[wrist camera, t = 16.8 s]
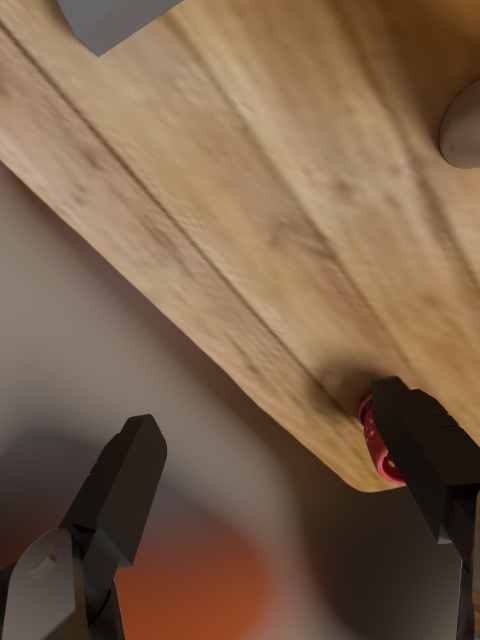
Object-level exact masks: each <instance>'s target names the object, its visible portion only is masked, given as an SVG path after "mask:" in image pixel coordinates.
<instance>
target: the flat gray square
mask: <svg viewBox="0 0 480 640" xmlns="http://www.w3.org/2000/svg"><path fill="white" fill-rule="evenodd" d="M182 1H183V0H57V2H58V4H59V6H60V8H61V10H62V12H63V14H64V16H65V18H66V20H67V21H68V23H69V25H70V27H71V29H72V31H73V33H74V35H75V36H76V37H77V38H78V39H79V40H80V41H81V42H82V43H83V44H84V45H86V46H87V47H88V48H89V49H90V50H91V51H92V52H93V53H94V54H96V55H97V56H98V57H99V56H101V55H102V54H104V53H105V52H107V51H108V50H110V49H111V48H113V47H114V46H116V45H117V44H119V43H120V42H122V41H123V40H125V39H126V38H128V37H129V36H131V35H132V34H134V33H135V32H137V31H138V30H140V29H141V28H143V27H144V26H146V25H147V24H149V23H150V22H152V21H153V20H155V19H156V18H158V17H159V16H161V15H162V14H164V13H165V12H167V11H168V10H170V9H171V8H173V7H174V6H176V5H177V4H179V3H180V2H182Z"/></svg>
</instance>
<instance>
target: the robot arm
mask: <svg viewBox="0 0 480 640" xmlns="http://www.w3.org/2000/svg"><path fill="white" fill-rule="evenodd" d="M439 144H440V149H441V152H442V154H443V156H444V158H445V159H446V160H447V161H448V162H449V163H450V164H451V165H453V166H455V167H458V168H463V169H465V168H478V167H480V80H478V81H476V82H474V83H472V84H471V85H469V86H468V87H467V88H465V89H464V90H463V91H462V92H461V93H460V94H459V95H458V96H457V97H456V98H455V100H454V101H453V102H452V104H451V105H450V107H449V108H448V110H447V112H446V114H445V116H444V119H443V121H442V124H441V128H440V135H439ZM371 398H372V416H373V420H374V423H375V426H376V429H377V431H378V433H379V435H380V437H381V439H382V440H383V442H384V444H385V446H386V448H387V450H388V452H389V453H390V455H391V457H392V459H393V461H394V463H395V465H396V467H397V468H398V470H399V472H400V474H401V476H402V478H403V480H404V482H405V483H406V485H407V487H408V489H409V491H410V493H411V495H412V496H413V498H414V500H415V502H416V504H417V506H418V508H419V510H420V511H421V513H422V515H423V517H424V519H425V521H426V523H427V524H428V526H429V528H430V530H431V532H432V534H433V536H434V538H435V539H436V541H437V543H438V544H443V543H453V544H454V546H455V547H456V549H457V551H458V552H459V554H460V556H461V558H462V565H461V578H460V591H459V604H458V617H457V630H456V640H480V447H479V446H478V445H477V444H476V443H475V442H474V441H473V439H472V438H471V437H470V436H469V435H468V434H467V433H466V432H465V431H464V429H463V428H460V426H459V424H458V423H457V422H456V421H455V420H454V418H453V417H452V416H450V415H449V413H448V412H447V411H446V410H445V408H444V407H443V406H442V405H441V404H440V403H439V402H438V401H437V400H436V399H435V398H433V397H432V396H430V395H428V394H427V393H425V392H423V391H422V390H420V389H414V390H409V389H408V388H407V387H406V386H405V384H404V383H403V382H402V381H401V379H400V378H399V377H398V376H390V377H384V378H377V379H372V381H371ZM166 457H167V445H166V441H165V439H164V437H163V435H162V433H161V431H160V429H159V427H158V425H157V423H156V421H155V419H154V417H153V416H152V415H151V414H147V415H140V416H133V417H130V418H128V419H127V421H126V423H125V425H124V426H123V428H122V430H121V432H120V433H118V434H116V435H115V436H114V437H113V438H112V439H111V440H110V441H109V442H108V444H107V445H106V446H105V447H104V449H103V451H102V452H101V454H100V456H99V458H98V459H97V463H95V464H94V466H93V468H92V470H91V471H90V475H89V476H88V477H87V478H86V480H85V482H84V484H83V485H82V487H81V489H80V491H79V492H78V494H77V496H76V498H75V499H74V501H73V503H72V505H71V506H70V508H69V510H68V512H67V514H66V515H65V517H64V518H63V520H62V522H61V524H60V525H59V527H58V528H57V529H54V530H51V531H50V532H48V533H46V534H44V535H43V536H41V537H40V538H39V539H38V540H36V541H35V542H34V543H33V544H32V545H31V546H30V547H29V548H28V549H27V550H26V552H25V553H24V554H23V555H22V557H21V558H20V559H19V561H18V562H15V563H13V564H11V565H9V566H7V567H5V568H3V569H0V640H126V639H125V634H124V628H123V622H122V616H121V611H120V606H119V600H118V594H117V589H116V584H115V582H114V580H113V578H114V575H115V572H116V569H117V567H123V566H132V565H133V562H134V559H135V556H136V553H137V549H138V546H139V543H140V540H141V537H142V533H143V530H144V527H145V524H146V521H147V518H148V515H149V511H150V508H151V505H152V502H153V499H154V496H155V492H156V489H157V486H158V483H159V480H160V477H161V473H162V470H163V467H164V464H165V461H166Z"/></svg>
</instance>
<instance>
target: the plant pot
mask: <svg viewBox="0 0 480 640" xmlns="http://www.w3.org/2000/svg"><path fill="white" fill-rule="evenodd" d="M409 390H410V389H409ZM358 417H359V421H360V423H361V424H362V425H363V426H364V436H365V440H366V444H367V447H368V450H369V453H370V456H371V458H372V461H373V463H374V465H375V468H376V470H377V472H378V473H379V474H380V475H381V476H382V477H383V478H384V479H386V480H388V481H390V482H393V483H396V484H402V485H406V483H405V482H404V480H403V478H402V476H401V474H400V472H399V470H398V468H397V467H396V465H395V463H394V461H393V459H392V457H391V455H390V453H389V452H388V450H387V448H386V446H385V444H384V442H383V440H382V439H381V437H380V435H379V433H378V431H377V429H376V426H375V423H374V420H373V416H372V398H371V394H369V395H368V396H367V397H366V398H365V399H364V400H363V401H362V403H361V404H360V407H359V410H358ZM386 454H387V457H386V456H385V455H386ZM388 461H390V462H392V463H393V464H394V465H395V467H391V466H390V465H389V463H388Z"/></svg>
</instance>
